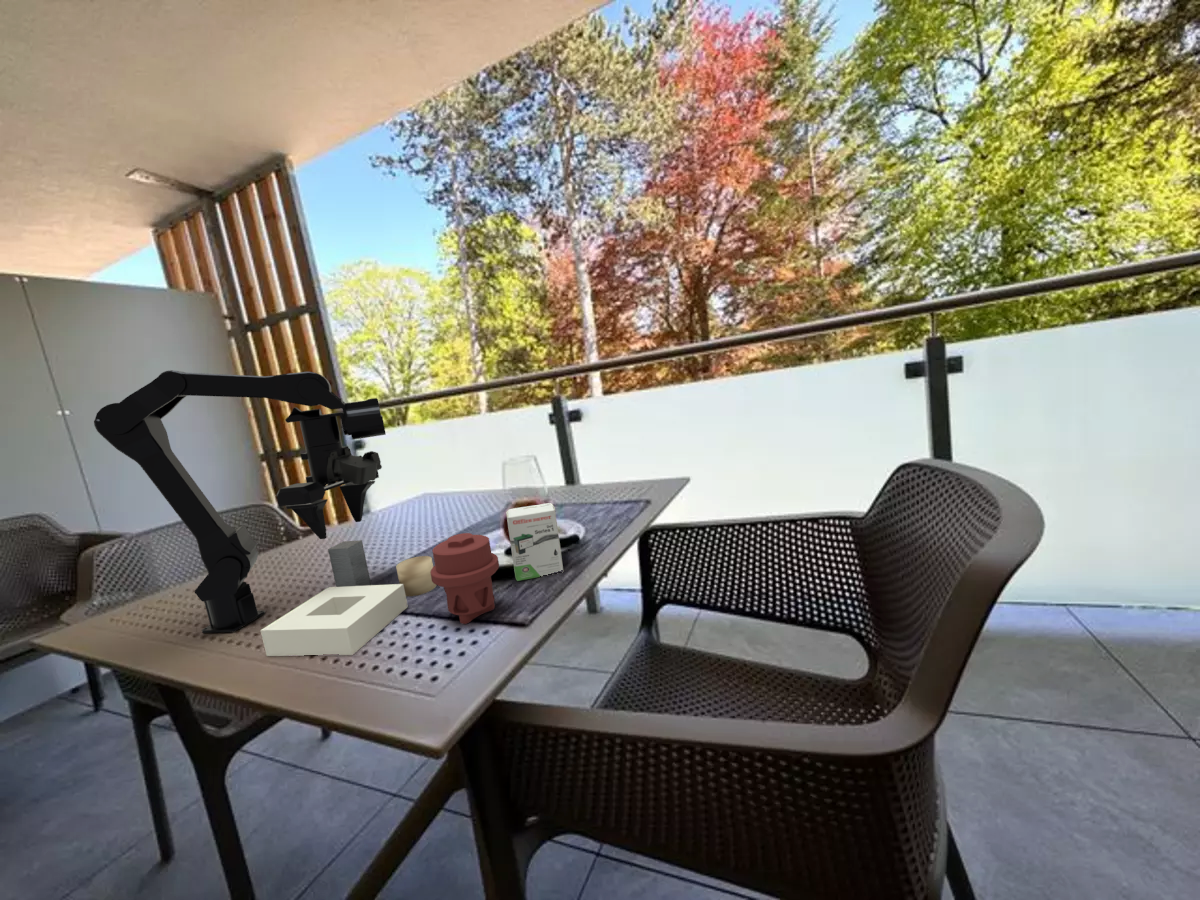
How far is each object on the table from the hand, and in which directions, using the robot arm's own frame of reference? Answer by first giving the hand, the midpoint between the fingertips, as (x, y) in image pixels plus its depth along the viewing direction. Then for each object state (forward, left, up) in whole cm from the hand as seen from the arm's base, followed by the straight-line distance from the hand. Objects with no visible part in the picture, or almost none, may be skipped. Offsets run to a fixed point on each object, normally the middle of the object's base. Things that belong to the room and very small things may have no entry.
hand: (341, 529), depth 92 cm
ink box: (+34, +5, -12) cm, 36 cm away
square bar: (0, 0, -12) cm, 12 cm away
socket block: (+8, -14, -12) cm, 20 cm away
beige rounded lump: (+13, 0, -12) cm, 18 cm away
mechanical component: (+28, -10, -12) cm, 32 cm away
